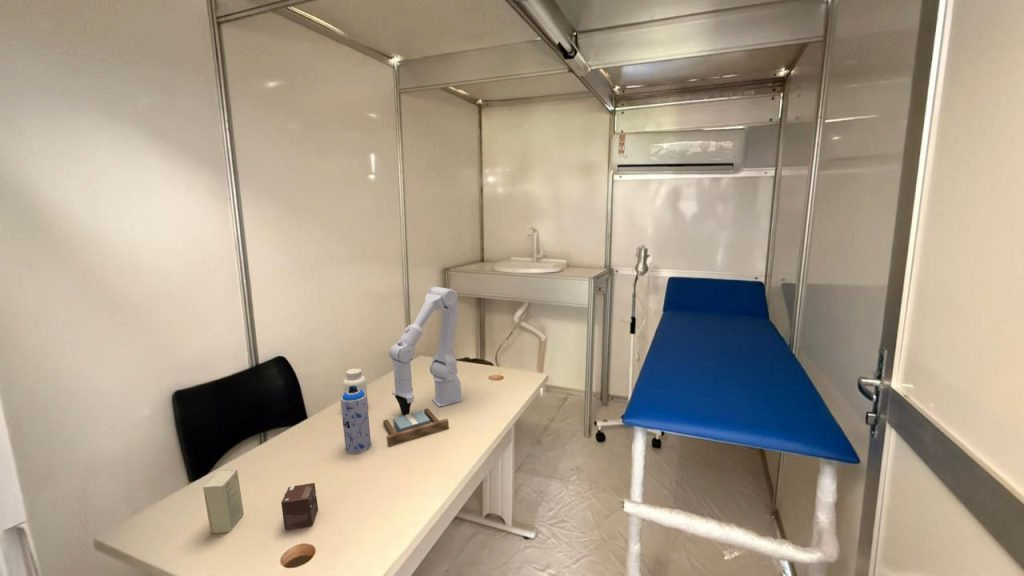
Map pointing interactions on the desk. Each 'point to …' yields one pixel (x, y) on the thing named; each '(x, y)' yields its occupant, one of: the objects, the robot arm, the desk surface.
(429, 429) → the stand
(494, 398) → the desk surface
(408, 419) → the carton
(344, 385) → the pill bottle
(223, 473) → the skincare box
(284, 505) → the box
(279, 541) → the desk surface
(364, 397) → the aerosol can
